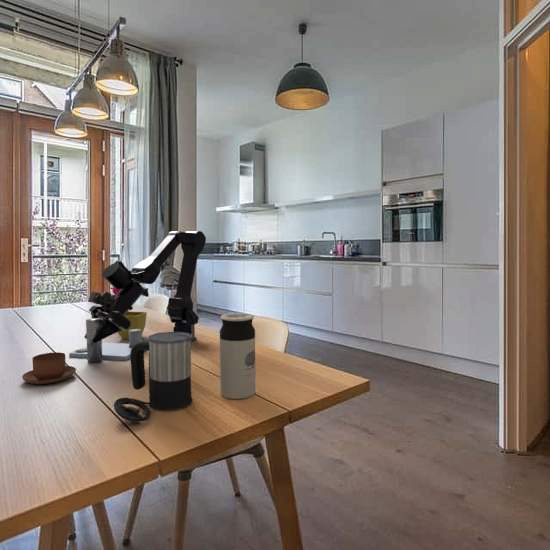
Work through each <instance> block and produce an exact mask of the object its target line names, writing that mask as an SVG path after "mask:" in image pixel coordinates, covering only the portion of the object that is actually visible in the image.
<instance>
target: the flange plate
mask: <svg viewBox="0 0 550 550" xmlns="http://www.w3.org/2000/svg"><path fill="white" fill-rule="evenodd" d="M140 341H143V332H142V330H141V329H133V330H129V339H128V343H121V342H119V343H118V342H103V341H102V359H103V360H111V361H112V360H114V361H127V360H129V359H130V353H131V349H132V348H133V346H134V345H135V344H137V343H138V342H140ZM145 351H147V350H145ZM145 351H144V352H145ZM68 356H69V357H70V358H81V359H82V358H83V359H87V346H84V347H82V348H79V349H76V350H74V351H71V352H69V355H68ZM130 360H131V359H130Z"/></svg>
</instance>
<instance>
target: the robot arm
mask: <svg viewBox="0 0 550 550" xmlns="http://www.w3.org/2000/svg"><path fill="white" fill-rule="evenodd" d="M206 242H207V238H206V235H205V233H204V232H203V231H201V230H192V231H180V230H176V231H175V230H174V231H173V230H172V231H169V232H168V234H167V236H166V237H165V238H164V240H162V241H161V243H160V244H159V245H158V246H157V247H156V249H155V250H154V251H153V252H152V253H151V254H150V256H148V257H147V258H145V259H143V260H142V261H139V262H138V263H137V264H136V265H135V266H133V267H132V269H130V270H129V269H128V268H127V267H126V266H125V264H124V262H122V261H121V260H116V261H115V262H114V263H111V264H110V265H108V266H107V267H105V268H104V269H103V271H102V272H101V277H102V278H103V279H104V280H105V281H106V282H107V283H109V284H110V285H111V286H112V288H113V287H114V288H115V289H121V290H120V291H119V292H118V293H117V294H116V295H115V294H112V293H110V292H107V291H103V292H101V293H99V292H96V291H91V293H90V295H89V298H88V300H87V302H89V303H93V304H96V305H92V306H91V307H89V309H88V311H89V312H90V315H91V319H92V318H100V319H101V327H100V329H99V330H98V332H97V333H96V335H95V336H94V338H93V339H92V342H93V343H96V342H98V341H100V340H102V341H103V340H104V339H106V338H108V337H110V336H112V335H114V334H116V333H118V332H119V331H121V329H120V328H121V327H122V329H123V330H126V331H127V330H128V329H129V327H130V326H131V321H130V320H129V319H127V318H126V317H125V316H124V315H125V314H126V312H127V311H128V310H129V311H132V310H133V309H134V307H133V306H134V304H135V303H136V302H137V301H138V300H139V299H140V297H142V296H143V297H147V298H149V288H148V287H145V286H143V285H152V284H154V283H155V282H156V281H157V279H158V277H159V275H160V273H161V268H162V266H163V265H164V263H165V262H166V261H167V260H168V258H170V256H171V255H172V254H173V253H174V251H175V250H176V249H177V248H178V247H179V246H180V249H181V250H182V253H183V256H182V261H181V267H180V272H179V278H178V283H177V288H176V292H175V295H173V297H169V298H168V300H167V301H168V303H167V306H166V310H167V316H169V319H170V322H171V323H173V324H174V327H173V329H172V330H173V332H184V333H189V334H191V335H192V338H191V342H193V341H195V340H196V339H197V338H198V337H197V336H196V334H195V332H196V331H195V330H196V329H195V325H197V324H198V322H199V318H200V317H199V315H197V313H195V311H194V302H193V300H192V297H191V294H192V288H193V284H194V279H195V272H196V267H197V262H198V258H199V256H200V254H201V253H202V252H203V251H204V248H205V245H206ZM142 284H143V285H142ZM83 337H84V339H86V340H87V335H86V334H84V336H83Z"/></svg>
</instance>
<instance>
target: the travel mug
mask: <svg viewBox="0 0 550 550" xmlns="http://www.w3.org/2000/svg"><path fill="white" fill-rule="evenodd" d="M254 317H255V316H254V315H253V314H251V313H245V312H243V313H242V312H241V313H240V312H237V313H236V312H235V313H234V312H233V313H225V314H222V315H221V316H220V319H221V321H222V325H221V326H220V327H221V328H220V329H219V363H220V365H219V366H220V367H219V368H220V369H219V371H220V372H219V376H220V379H219V381H220V395H221V396H222V397H225V399H229V398H230V399H229V400H243V398H244V399H248V398H250V397H252V396H253V395H255V394H256V391H257V390H256V387H257V386H256V329H255V327H254V325H253V320H254Z"/></svg>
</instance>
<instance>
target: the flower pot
mask: <svg viewBox="0 0 550 550" xmlns="http://www.w3.org/2000/svg"><path fill="white" fill-rule="evenodd" d="M147 313H148V312H147V311H129V312H126V314H125V315H124V316H125V317H126V318H127V319H129V320H130V321H131V326H130V327H129V329H128V330H127V331H126V330H123V329H122V327H121V328H120V329H121V331H119V332H117V333H118V334H117V335H119V337H120V339H125V340H126V339H128V340H129V330H133V329H141V330H142V333H144V330H145V328H146V322H147Z"/></svg>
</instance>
